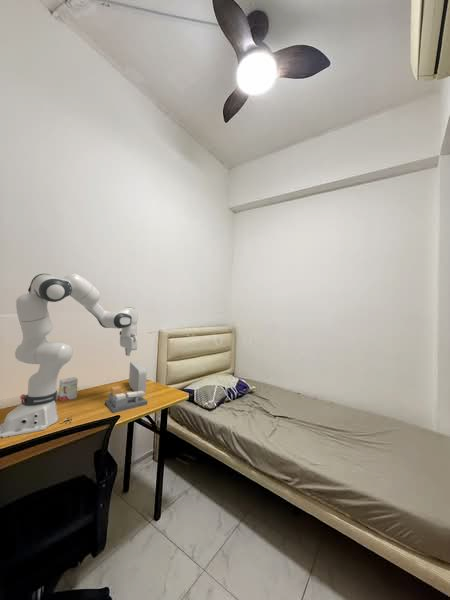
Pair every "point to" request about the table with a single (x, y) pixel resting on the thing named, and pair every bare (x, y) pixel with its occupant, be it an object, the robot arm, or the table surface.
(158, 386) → the table surface
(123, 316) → the robot arm
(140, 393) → the rocker
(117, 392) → the orange button
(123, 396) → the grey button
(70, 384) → the ink box
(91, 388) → the table surface
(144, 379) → the rounded white slab
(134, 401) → the grey stepped base
